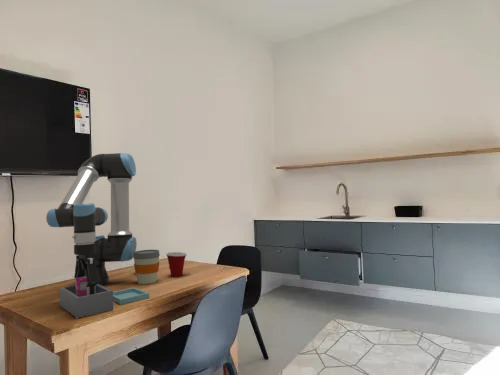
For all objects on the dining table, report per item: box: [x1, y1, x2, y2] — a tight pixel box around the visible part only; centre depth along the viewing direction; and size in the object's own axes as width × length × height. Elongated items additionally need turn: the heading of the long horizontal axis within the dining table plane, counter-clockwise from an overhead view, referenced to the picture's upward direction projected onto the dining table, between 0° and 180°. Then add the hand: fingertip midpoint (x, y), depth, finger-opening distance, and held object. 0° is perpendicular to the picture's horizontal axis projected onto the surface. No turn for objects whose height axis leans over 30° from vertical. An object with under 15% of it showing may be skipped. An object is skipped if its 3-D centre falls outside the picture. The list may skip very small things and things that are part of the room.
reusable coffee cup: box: [132, 249, 161, 285], centre depth 168 cm, size 12×13×15 cm
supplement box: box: [74, 276, 88, 297], centre depth 129 cm, size 6×6×12 cm
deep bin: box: [59, 284, 114, 319], centre depth 129 cm, size 21×12×7 cm, turn 43°
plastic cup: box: [165, 251, 187, 278], centre depth 179 cm, size 11×11×12 cm
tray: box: [113, 287, 150, 306], centre depth 140 cm, size 14×12×2 cm
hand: (85, 300), depth 129 cm, fingers open, 12 cm apart
